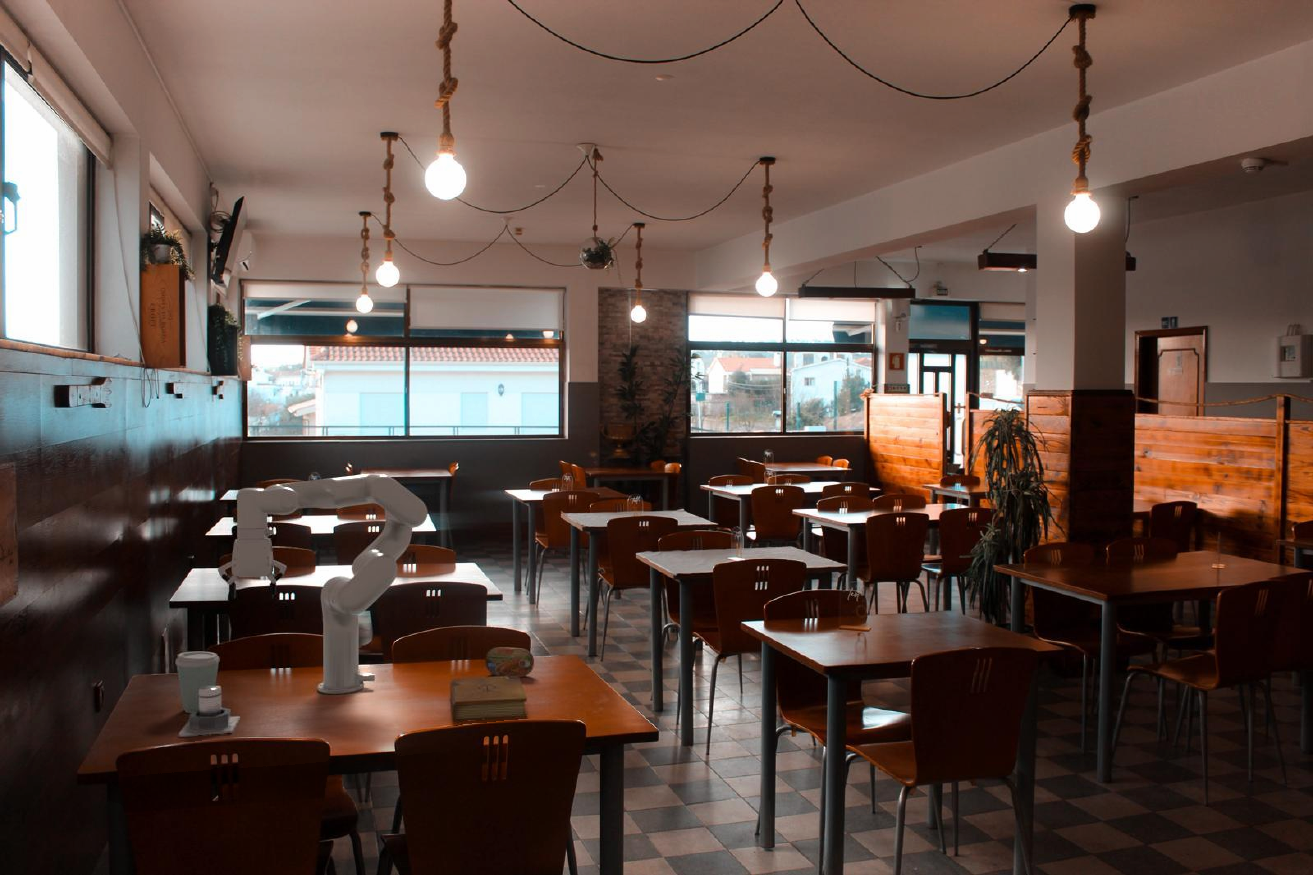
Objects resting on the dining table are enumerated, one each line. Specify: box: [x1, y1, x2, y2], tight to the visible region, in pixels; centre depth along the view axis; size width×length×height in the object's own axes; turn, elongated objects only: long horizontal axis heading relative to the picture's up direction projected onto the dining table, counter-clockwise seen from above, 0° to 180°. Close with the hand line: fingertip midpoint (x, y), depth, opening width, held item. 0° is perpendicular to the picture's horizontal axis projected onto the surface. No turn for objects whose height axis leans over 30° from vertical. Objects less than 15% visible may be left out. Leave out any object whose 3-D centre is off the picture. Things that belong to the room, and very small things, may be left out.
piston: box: [199, 685, 222, 717], centre depth 256 cm, size 5×5×9 cm
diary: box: [449, 676, 528, 723], centre depth 276 cm, size 23×19×6 cm
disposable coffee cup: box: [175, 650, 221, 714], centre depth 272 cm, size 11×11×15 cm
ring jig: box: [178, 706, 241, 738], centre depth 257 cm, size 12×12×4 cm
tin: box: [485, 646, 535, 678], centre depth 309 cm, size 15×3×8 cm, turn 73°
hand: (252, 598), depth 278 cm, fingers open, 9 cm apart
